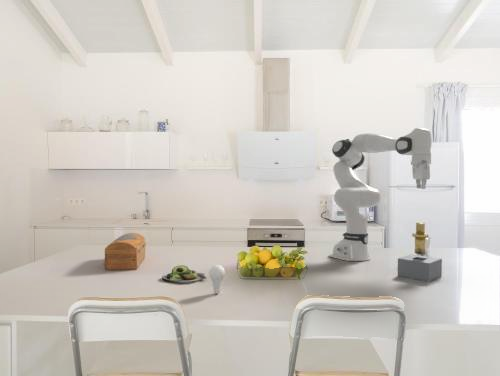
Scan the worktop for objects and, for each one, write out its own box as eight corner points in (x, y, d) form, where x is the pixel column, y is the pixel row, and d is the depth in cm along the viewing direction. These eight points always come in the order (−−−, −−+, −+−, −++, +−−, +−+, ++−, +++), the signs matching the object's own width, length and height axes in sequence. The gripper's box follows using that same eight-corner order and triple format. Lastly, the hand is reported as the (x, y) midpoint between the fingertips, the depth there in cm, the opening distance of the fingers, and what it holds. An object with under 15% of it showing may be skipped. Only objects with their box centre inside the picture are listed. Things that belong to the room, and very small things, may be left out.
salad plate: (217, 277, 177) (217, 267, 177) (192, 287, 161) (192, 276, 161) (183, 272, 186) (183, 262, 186) (156, 281, 171) (156, 270, 171)
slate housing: (397, 275, 180) (397, 258, 180) (411, 270, 190) (411, 254, 189) (429, 281, 170) (429, 263, 170) (441, 276, 180) (441, 258, 179)
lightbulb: (209, 291, 154) (209, 263, 154) (224, 291, 155) (224, 263, 155) (208, 296, 148) (208, 267, 148) (225, 295, 149) (225, 266, 149)
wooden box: (116, 258, 217) (115, 232, 217) (146, 257, 219) (146, 232, 219) (101, 271, 188) (101, 241, 187) (136, 270, 189) (136, 241, 189)
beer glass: (431, 269, 193) (432, 238, 192) (416, 268, 194) (417, 238, 193) (428, 266, 199) (429, 236, 199) (413, 265, 201) (414, 236, 200)
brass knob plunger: (409, 253, 180) (409, 223, 179) (415, 251, 184) (416, 222, 184) (424, 255, 175) (424, 224, 174) (430, 253, 179) (431, 223, 179)
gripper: (433, 159, 186) (433, 189, 187) (423, 161, 206) (422, 188, 207) (419, 160, 188) (419, 189, 188) (410, 161, 208) (409, 188, 208)
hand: (420, 188), depth 198 cm, fingers open, 8 cm apart
